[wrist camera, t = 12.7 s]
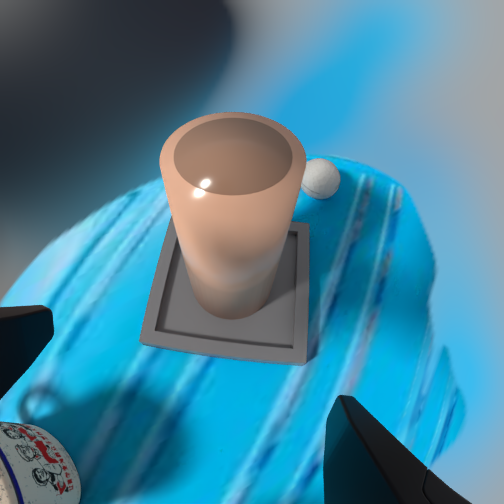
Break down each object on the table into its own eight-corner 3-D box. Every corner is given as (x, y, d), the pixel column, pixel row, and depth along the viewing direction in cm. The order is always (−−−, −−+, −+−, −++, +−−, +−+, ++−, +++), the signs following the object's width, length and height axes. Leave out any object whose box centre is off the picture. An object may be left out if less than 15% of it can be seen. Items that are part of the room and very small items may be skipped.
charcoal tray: (302, 365, 21) (306, 363, 20) (143, 344, 21) (139, 341, 20) (306, 231, 27) (309, 223, 26) (175, 216, 27) (173, 208, 26)
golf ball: (337, 209, 28) (349, 181, 25) (297, 206, 28) (306, 177, 25) (330, 179, 31) (340, 152, 27) (294, 176, 30) (301, 148, 27)
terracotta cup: (281, 308, 22) (331, 192, 11) (201, 328, 21) (167, 223, 10) (258, 240, 25) (277, 106, 14) (185, 256, 24) (155, 123, 13)
